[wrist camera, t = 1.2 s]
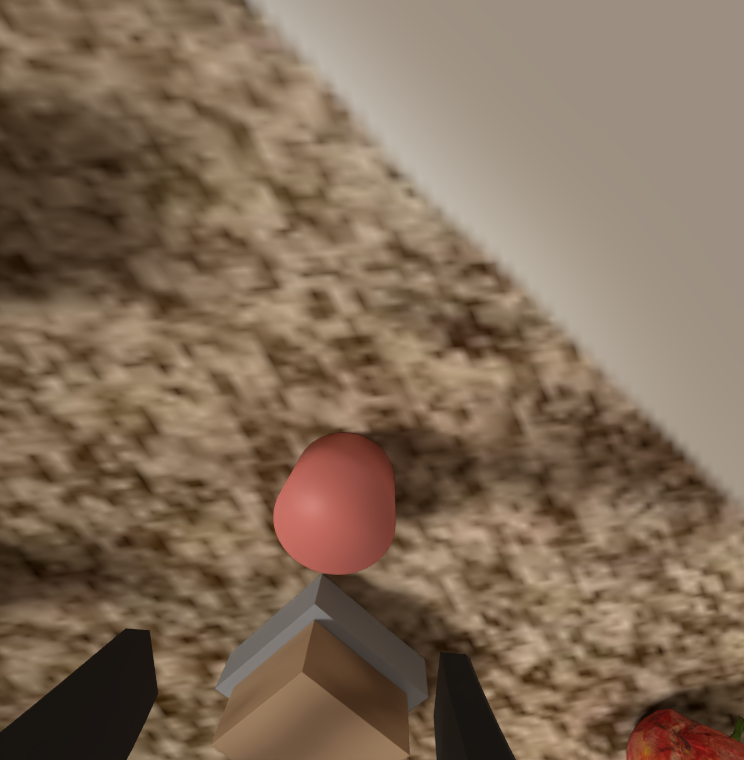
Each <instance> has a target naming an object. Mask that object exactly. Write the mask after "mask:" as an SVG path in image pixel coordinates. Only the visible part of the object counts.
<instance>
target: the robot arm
mask: <svg viewBox="0 0 744 760" xmlns="http://www.w3.org/2000/svg"><path fill="white" fill-rule="evenodd" d="M157 695H158V689H157V681H156V674H155V667H154V659H153V652H152V645H151V637H150V630H138V629H125V630H124V631H122V632H121V633H120V634H119V635H117V636H116V637H115V638H114V639H113V640H111V641H110V642H109V643H108V644H107V645H105V646H104V647H103V648H102V649H101V650H99V651H98V652H97V653H96V654H95V655H93V656H92V657H91V658H90V659H89V660H87V661H86V662H85V663H84V664H83V665H81V666H80V667H79V668H78V669H77V670H75V671H74V672H73V673H72V674H71V675H69V676H68V677H67V678H66V679H65V680H63V681H62V682H61V683H60V684H59V685H57V686H56V687H55V688H54V689H53V690H51V691H50V692H49V693H48V694H47V695H45V696H44V697H43V698H42V699H41V700H39V701H38V702H37V703H36V704H34V705H33V706H32V707H31V708H30V709H28V710H27V711H26V712H25V713H23V714H22V715H21V716H20V717H19V718H17V719H16V720H15V721H14V722H12V723H11V724H10V725H9V726H8V727H6V728H5V729H4V730H3V731H1V732H0V760H127V758H128V756H129V754H130V752H131V751H132V749H133V747H134V745H135V742H136V740H137V738H138V736H139V734H140V732H141V730H142V728H143V726H144V724H145V722H146V719H147V717H148V715H149V713H150V710H151V708H152V706H153V704H154V702H155V699H156V697H157ZM434 728H435V742H436V756H437V760H516V759H515V757H514V755H513V753H512V751H511V749H510V747H509V745H508V743H507V741H506V739H505V737H504V735H503V733H502V731H501V729H500V727H499V725H498V723H497V720H496V718H495V716H494V714H493V712H492V710H491V708H490V705H489V703H488V701H487V699H486V696H485V694H484V692H483V690H482V687H481V685H480V683H479V680H478V678H477V675H476V673H475V671H474V668H473V666H472V663H471V660H470V658H469V657H468V656H467V655H466V654H456V653H443V652H440V659H439V669H438V679H437V689H436V698H435V708H434Z"/></svg>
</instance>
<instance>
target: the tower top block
mask: <svg viewBox="0 0 744 760" xmlns="http://www.w3.org/2000/svg"><path fill="white" fill-rule="evenodd" d="M211 746H212V747H214V748H215V749H217V750H218V751H219V752H221V753H222V754H224V755H225V756H226V757H228V758H229V759H231V760H404V759H405V758H407V757H408V756H410V750H409V725H408V700H407V694H406V693H405V692H403V691H402V690H401V689H400V688H398V687H397V686H396V685H395V684H393V683H392V682H391V681H390V680H389V679H387V678H386V677H385V676H384V675H382V674H381V673H380V672H379V671H377V670H376V669H375V668H374V667H372V666H371V665H370V664H369V663H367V662H366V661H365V660H364V659H362V658H361V657H360V656H359V655H357V654H356V653H355V652H354V651H352V650H351V649H350V648H349V647H348V646H346V645H345V644H344V643H343V642H341V641H340V640H339V639H338V638H336V637H335V636H334V635H333V634H331V633H330V632H329V631H328V630H326V629H325V628H324V627H323V626H321V625H320V624H319V623H318V622H316V621H315V620H313V621H312V622H311V623H310V624H309V625H307V626H306V627H305V628H304V629H303V630H301V631H300V632H299V633H298V634H297V635H296V636H294V637H293V638H292V639H291V640H290V641H288V642H287V643H286V644H285V645H284V646H282V647H281V648H280V649H279V650H278V651H276V652H275V653H274V654H273V655H272V656H271V657H269V658H268V659H267V660H266V661H265V662H263V663H262V664H261V665H260V666H259V667H257V668H256V669H255V670H254V671H253V672H251V673H250V674H249V675H248V676H247V677H246V678H244V679H243V680H242V681H241V682H240V683H238V684H237V685H236V686H235V687H234V688H233V691H232V693H231V696H230V698H229V701H228V703H227V706H226V708H225V711H224V713H223V716H222V718H221V721H220V723H219V726H218V728H217V731H216V733H215V736H214V738H213V741H212V743H211Z"/></svg>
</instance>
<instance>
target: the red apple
mask: <svg viewBox="0 0 744 760" xmlns="http://www.w3.org/2000/svg"><path fill="white" fill-rule="evenodd" d="M743 728H744V719H743V718H742V717H740V716H739V718H738V721H737V724H736V727H735V730H734V732H733V734H731V736H728V735H726V734H724V733H722V732H719V731H717V730H714V729H711V728H709V727H707V726H705V725H703V724H700V723H698V722H696V721H693V720H691V719H689V718H686V717H685V716H683V715H681V714H680V713H678V712H677V711H675V710H673V709H664V710H657V711H655V712H654V713H652V714H651V715H649V716H647V717H645V718H643V719H642V720H641V721H640V722H639V724H637V725H636V727H635V728H634V730H633V731H632V733H631V735H630V738H629V741H628V746H627V759H626V760H744V745H743V744H742V743H741V742H739V741H740V737H741V734H742V731H743Z"/></svg>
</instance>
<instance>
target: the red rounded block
mask: <svg viewBox="0 0 744 760" xmlns="http://www.w3.org/2000/svg"><path fill="white" fill-rule="evenodd" d="M274 526H275V531H276V534H277V536H278V539H279V541H280V543H281V544H282V546H283V547H284V549H285V550H286V551H287V552H288V553H289V554H290V555H291V556H292V557H293V558H294V559H295V560H296V561H298V562H299V563H301V564H302V565H304V566H306V567H308V568H310V569H312V570H315V571H318V572H321V573H326V574H336V575H338V574H350V573H354V572H358V571H361V570H363V569H366V568H368V567H369V566H371V565H373V564H374V563H376V562H377V561H378V560H379V559H380V558H381V557H382V556H383V555H384V554H385V553H386V551H387V550H388V548H389V547H390V545H391V543H392V540H393V538H394V533H395V526H396V517H395V479H394V471H393V467H392V464H391V462H390V460H389V458H388V456H387V455H386V453H385V452H384V451H383V450H382V449H381V448H380V447H379V446H378V445H377V444H376V443H374V442H373V441H371V440H370V439H368V438H365V437H363V436H360V435H357V434H353V433H333V434H329V435H326V436H323V437H321V438H319V439H317V440H315V441H314V442H312V443H311V444H310V445H309V446H308V447H307V448H306V449H305V450H304V452H303V453H302V455H301V456H300V458H299V460H298V462H297V464H296V465H295V467H294V469H293V471H292V473H291V474H290V476H289V478H288V480H287V482H286V483H285V485H284V487H283V489H282V491H281V492H280V494H279V496H278V499H277V501H276V504H275V508H274Z"/></svg>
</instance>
